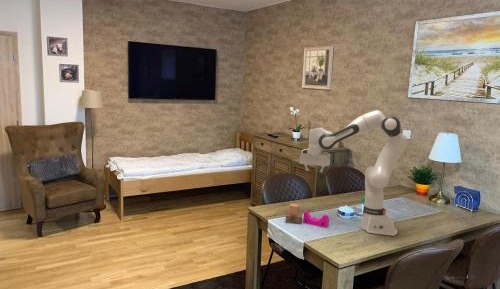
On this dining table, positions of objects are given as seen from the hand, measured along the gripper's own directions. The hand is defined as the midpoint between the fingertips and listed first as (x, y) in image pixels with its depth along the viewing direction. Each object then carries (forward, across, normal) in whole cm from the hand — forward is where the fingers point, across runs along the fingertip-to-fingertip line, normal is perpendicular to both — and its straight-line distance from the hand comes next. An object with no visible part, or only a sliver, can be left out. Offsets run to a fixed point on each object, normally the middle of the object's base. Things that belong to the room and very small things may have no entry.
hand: (314, 171), depth 255 cm
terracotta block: (+26, +8, +16) cm, 32 cm away
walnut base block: (+31, +8, +16) cm, 36 cm away
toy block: (+31, -6, +15) cm, 35 cm away
